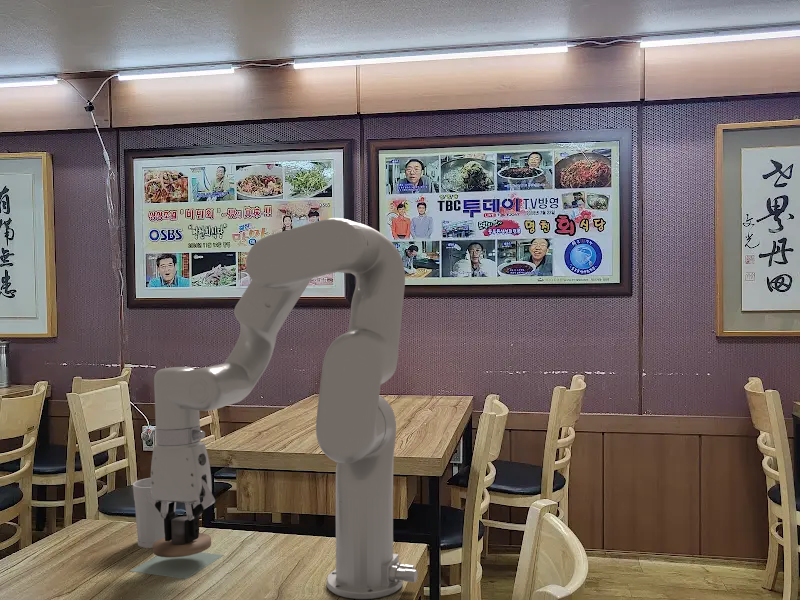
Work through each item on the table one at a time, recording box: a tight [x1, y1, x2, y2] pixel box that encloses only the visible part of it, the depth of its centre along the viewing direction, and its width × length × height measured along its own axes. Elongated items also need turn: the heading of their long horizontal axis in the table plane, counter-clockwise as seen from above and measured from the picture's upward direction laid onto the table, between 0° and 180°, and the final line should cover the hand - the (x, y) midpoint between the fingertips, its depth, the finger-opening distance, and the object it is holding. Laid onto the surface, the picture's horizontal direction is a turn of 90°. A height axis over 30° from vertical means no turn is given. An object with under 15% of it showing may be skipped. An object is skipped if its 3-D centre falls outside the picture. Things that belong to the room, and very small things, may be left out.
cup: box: [132, 477, 165, 549], centre depth 137 cm, size 8×8×12 cm
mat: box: [129, 551, 224, 580], centre depth 126 cm, size 12×12×1 cm
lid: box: [152, 515, 212, 557], centre depth 126 cm, size 10×10×5 cm
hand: (182, 538), depth 126 cm, fingers closed on lid, 3 cm apart
